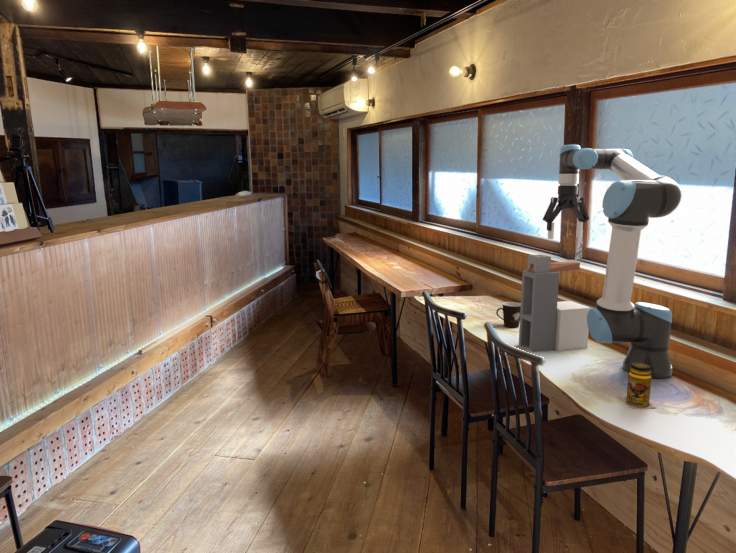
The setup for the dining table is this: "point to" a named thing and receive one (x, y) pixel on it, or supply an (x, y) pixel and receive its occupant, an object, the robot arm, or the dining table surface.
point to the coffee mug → (511, 314)
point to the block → (571, 326)
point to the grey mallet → (549, 264)
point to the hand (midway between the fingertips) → (564, 238)
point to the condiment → (638, 386)
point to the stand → (538, 310)
